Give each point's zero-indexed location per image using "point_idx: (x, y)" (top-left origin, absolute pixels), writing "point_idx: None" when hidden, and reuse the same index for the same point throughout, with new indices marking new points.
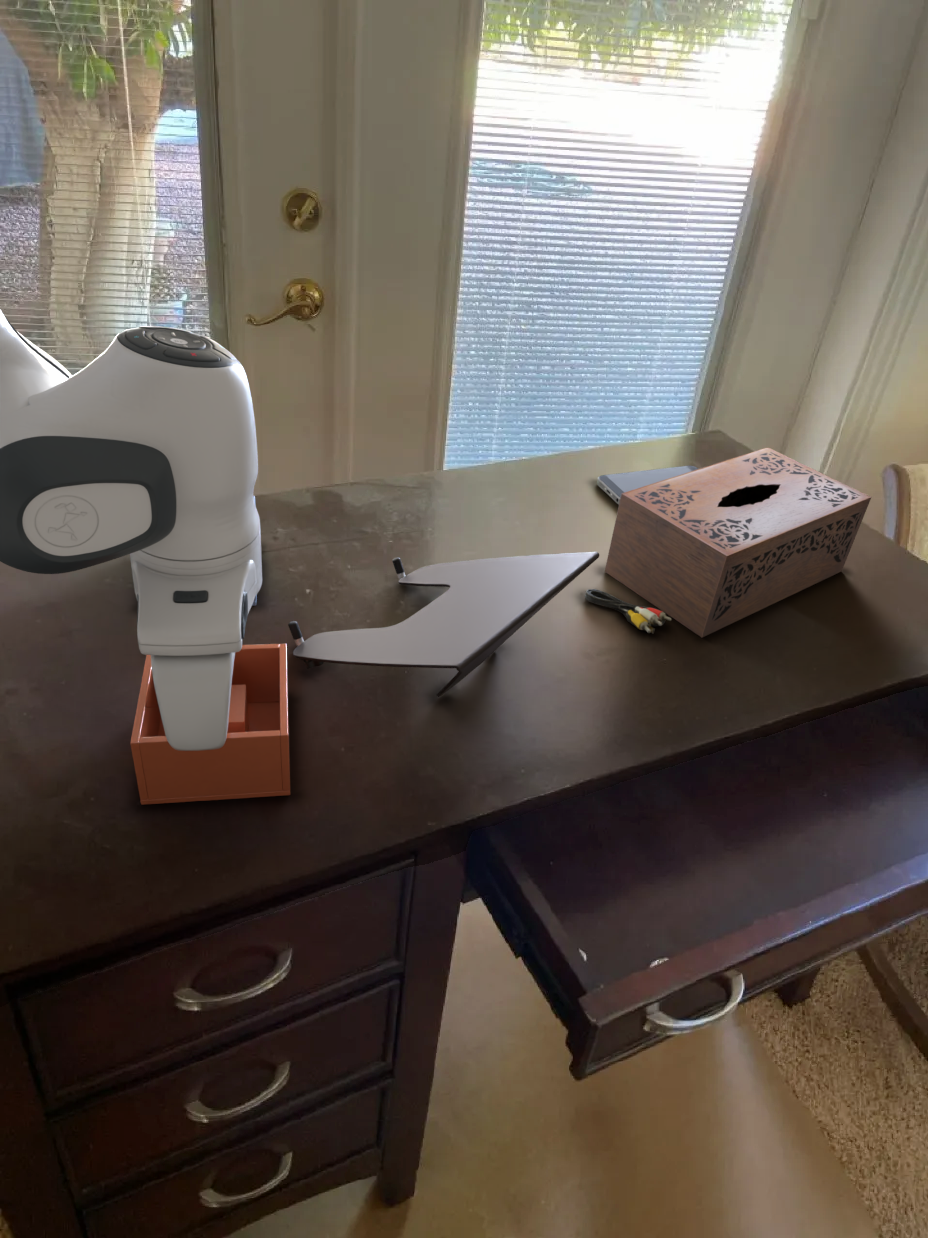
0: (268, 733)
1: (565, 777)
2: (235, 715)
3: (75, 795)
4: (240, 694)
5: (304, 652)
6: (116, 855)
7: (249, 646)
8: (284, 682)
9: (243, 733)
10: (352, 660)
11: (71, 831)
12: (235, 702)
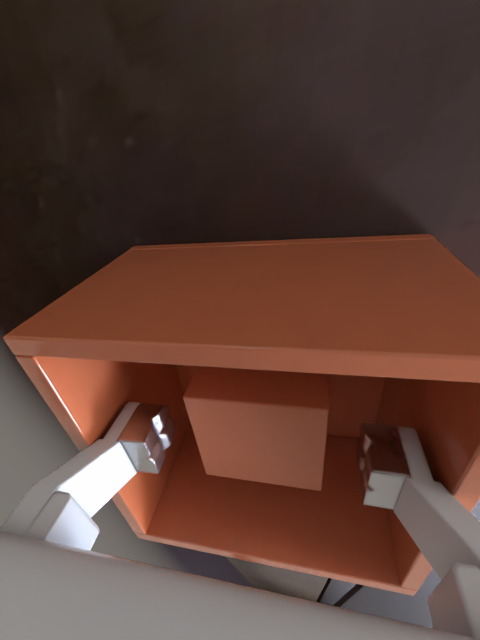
0: (133, 524)
1: (231, 558)
2: (221, 467)
3: (129, 92)
4: (286, 481)
5: (477, 507)
6: (31, 222)
7: (427, 562)
8: (273, 565)
9: (123, 503)
10: (352, 600)
11: (42, 118)
12: (261, 472)
